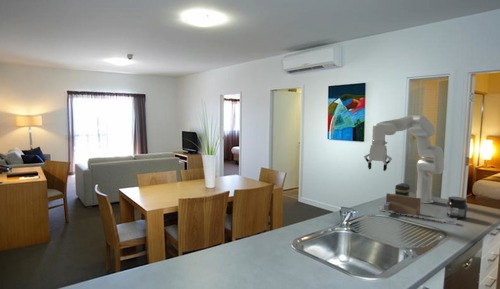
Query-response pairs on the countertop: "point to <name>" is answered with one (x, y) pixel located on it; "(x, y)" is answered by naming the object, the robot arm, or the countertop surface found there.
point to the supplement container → (457, 207)
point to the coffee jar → (402, 189)
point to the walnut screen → (402, 204)
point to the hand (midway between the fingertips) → (377, 169)
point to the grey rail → (419, 216)
